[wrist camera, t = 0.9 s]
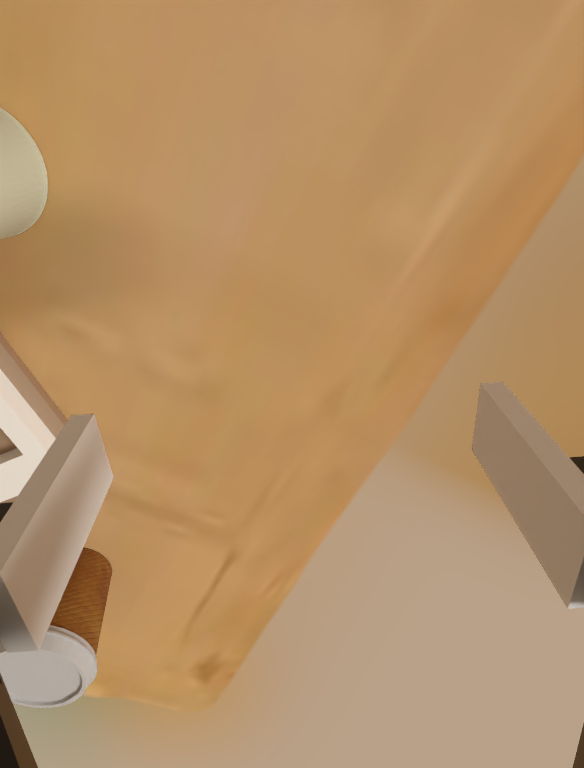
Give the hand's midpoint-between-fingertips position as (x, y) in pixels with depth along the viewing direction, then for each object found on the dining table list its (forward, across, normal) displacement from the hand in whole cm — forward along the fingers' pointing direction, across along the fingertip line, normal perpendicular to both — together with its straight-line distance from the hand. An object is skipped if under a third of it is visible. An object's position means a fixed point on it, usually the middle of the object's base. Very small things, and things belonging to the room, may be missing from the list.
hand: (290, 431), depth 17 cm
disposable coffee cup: (+24, -24, -32) cm, 46 cm away
